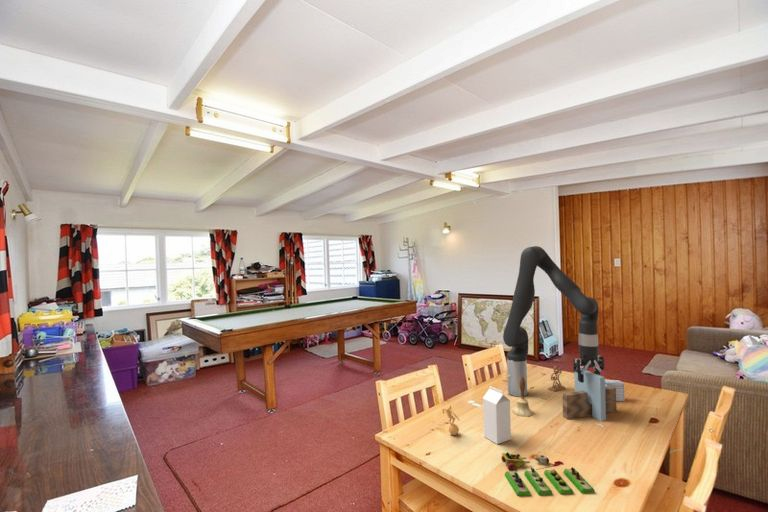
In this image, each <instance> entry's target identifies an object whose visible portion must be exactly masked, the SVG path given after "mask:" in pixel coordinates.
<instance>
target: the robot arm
mask: <svg viewBox="0 0 768 512" xmlns="http://www.w3.org/2000/svg"><path fill="white" fill-rule="evenodd" d="M519 261H520V262H519V270H518V275H517V280H516V285H515V288H514V291H513V298H512V303H511V307H510V310H509V315H508V318H507V321H506V324H505V327H504V330H503V336H502V338H503V342H504V344H505V345H506V346H507V347H509V348H510V347H511V349H510V350H508V352H507V353H506V361H507V362H506V363H507V364H506V365H507V366H506V368H507V372H506V376H507V377H506V379H507V380H506V382H507V384H506V385H507V387H506V388H507V394H508V396H514V397H520V398H521V390H520V387H519V381H520V377H521V376H522V377H524V380H525V390H524V396H528V372H527V371H528V367H527V364H528V363H527V357H528V355H529V335H528V332H527V330H526V329H525V328H524V327H523V326H521V325H522V322H523V320H524V319H525V317H526V316H528V315H527V314H528V313H529V312H530V310H531V309H532V306H533V303H534V298H535V295H536V293H535V292H536V289H535V283H534V282H535V281H534V279H535V278H534V277H535V273H536V270H537V267H538V268H539V269H541V270H542V271H543V272H544V273H545V274H546V275H547V276H548V277H549V279H550V280H551V283H552V284H553V285H554V287H555V288H556V289H557V290H558V291H559V293H561V294H562V295H563V296H564V297H565V298H567V299H568V301H569V303H570V304H572V307H574V309H575V310H576V311H578V312H579V313H580V319H579V322H578V354H579V358H577V357H574V358H573V367H572V368H573V370H572V371H573V372H577V373H578V380H579V382H581V383H583V382H584V374H583V373H584V371H585V370H587V371H588V369H590V368H593V370H594V372H593V373H595V374H598V375H600V376H601V372H602V371H604V370H605V358H604V356H602V355H600V354H599V336H598V335H599V334H598V318H599V317H598V316H599V304H598V301H597V300H596V299H595V298H593V297H588V296H586V295H585V294H584V293H583V292H582V290H581V288H580V287H579V285H578V284H576V283H575V282H574V281H573V280H572V279H571V278H570V277H569V276H568V275H567V274H566V273H565V272H564V271H563V270H562V269H561V268H560V267H559V266H558V265H557V264H556V263H555V262H554V260H552V258H551V257H550V256H549V254H548V253H547V251H545V249H544V248H543V247H540V246H538V245H537V246H535V245H534V246H528V247H526V248H524V249H523V250H522V251H521V254H520V259H519ZM581 369H582V370H581Z"/></svg>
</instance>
